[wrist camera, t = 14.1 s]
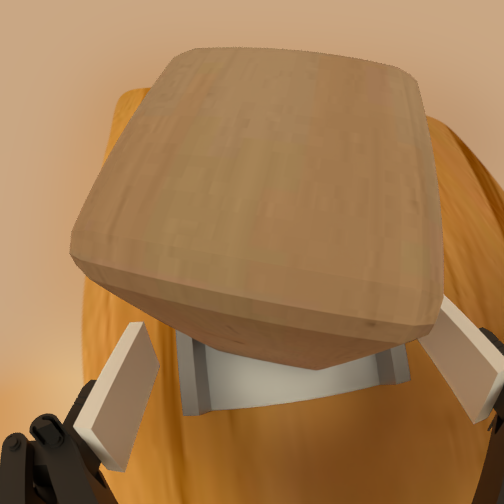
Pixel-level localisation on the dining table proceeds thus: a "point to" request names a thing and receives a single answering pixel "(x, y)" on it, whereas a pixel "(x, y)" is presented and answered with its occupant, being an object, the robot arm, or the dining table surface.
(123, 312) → the dining table surface
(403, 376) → the end cap cradle
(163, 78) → the wooden block
